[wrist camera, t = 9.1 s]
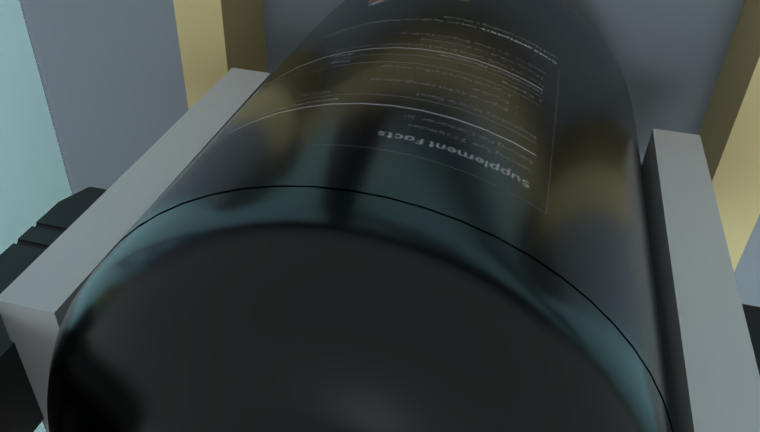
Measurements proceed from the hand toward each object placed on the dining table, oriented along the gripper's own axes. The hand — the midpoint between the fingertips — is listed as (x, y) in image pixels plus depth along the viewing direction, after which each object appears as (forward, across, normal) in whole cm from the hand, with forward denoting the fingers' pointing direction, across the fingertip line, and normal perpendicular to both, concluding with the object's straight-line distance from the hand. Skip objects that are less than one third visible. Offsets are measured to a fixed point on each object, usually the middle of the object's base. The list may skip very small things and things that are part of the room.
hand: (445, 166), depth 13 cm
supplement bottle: (+2, 0, 0) cm, 2 cm away
